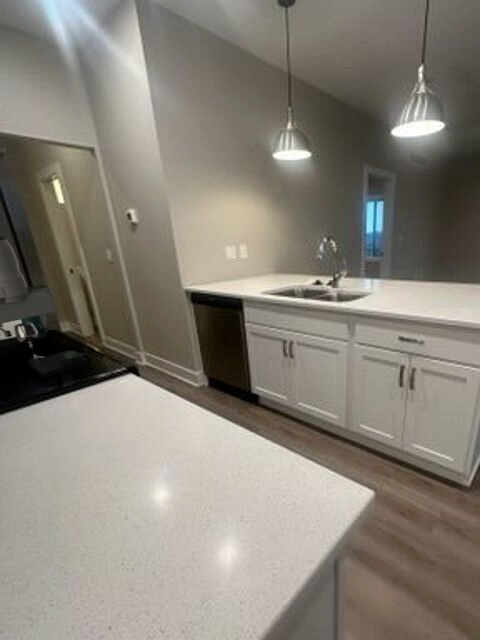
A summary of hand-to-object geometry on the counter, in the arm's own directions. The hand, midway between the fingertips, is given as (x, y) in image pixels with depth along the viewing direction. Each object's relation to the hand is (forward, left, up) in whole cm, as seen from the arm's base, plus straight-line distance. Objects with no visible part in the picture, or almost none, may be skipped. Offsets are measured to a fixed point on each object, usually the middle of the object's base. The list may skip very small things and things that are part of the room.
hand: (26, 332), depth 111 cm
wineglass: (0, 0, -10) cm, 10 cm away
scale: (+3, -13, -9) cm, 16 cm away
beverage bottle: (+7, +24, -10) cm, 27 cm away
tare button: (+6, -18, -7) cm, 20 cm away
